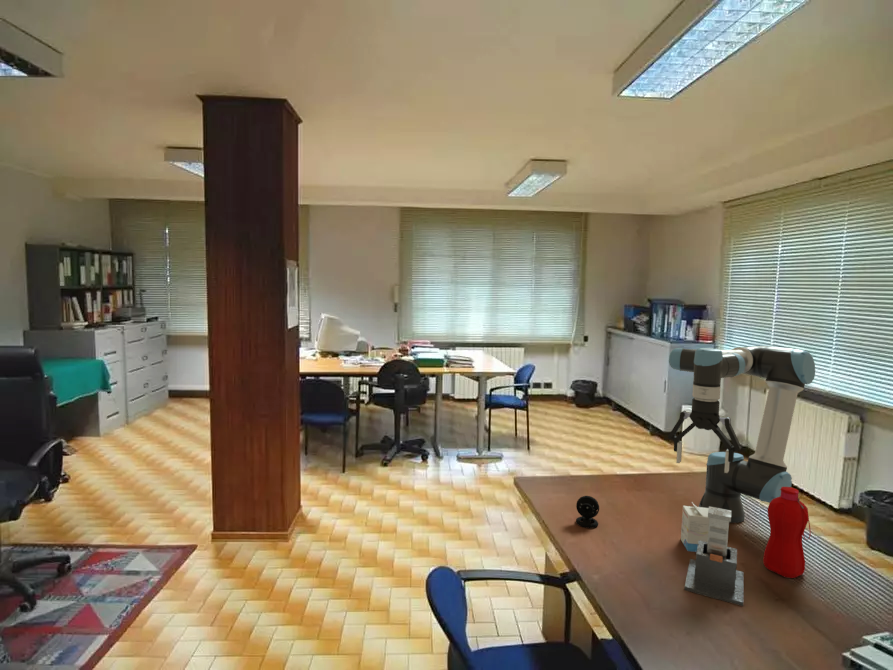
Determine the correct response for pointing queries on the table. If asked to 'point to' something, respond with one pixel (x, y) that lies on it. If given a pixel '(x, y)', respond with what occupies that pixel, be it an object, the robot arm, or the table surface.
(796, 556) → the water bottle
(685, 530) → the ink box
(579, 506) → the webcam
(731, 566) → the stand base
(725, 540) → the column
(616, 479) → the table surface
